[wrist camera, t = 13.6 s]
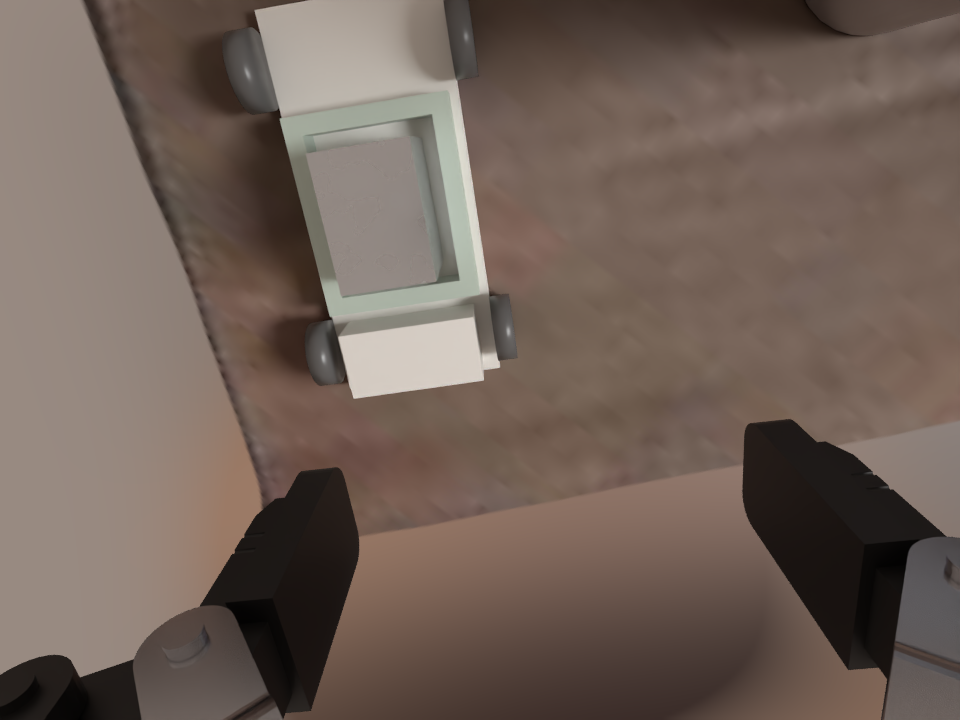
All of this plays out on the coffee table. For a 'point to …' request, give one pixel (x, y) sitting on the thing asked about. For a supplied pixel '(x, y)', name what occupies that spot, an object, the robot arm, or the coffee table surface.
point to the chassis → (370, 118)
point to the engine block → (378, 214)
